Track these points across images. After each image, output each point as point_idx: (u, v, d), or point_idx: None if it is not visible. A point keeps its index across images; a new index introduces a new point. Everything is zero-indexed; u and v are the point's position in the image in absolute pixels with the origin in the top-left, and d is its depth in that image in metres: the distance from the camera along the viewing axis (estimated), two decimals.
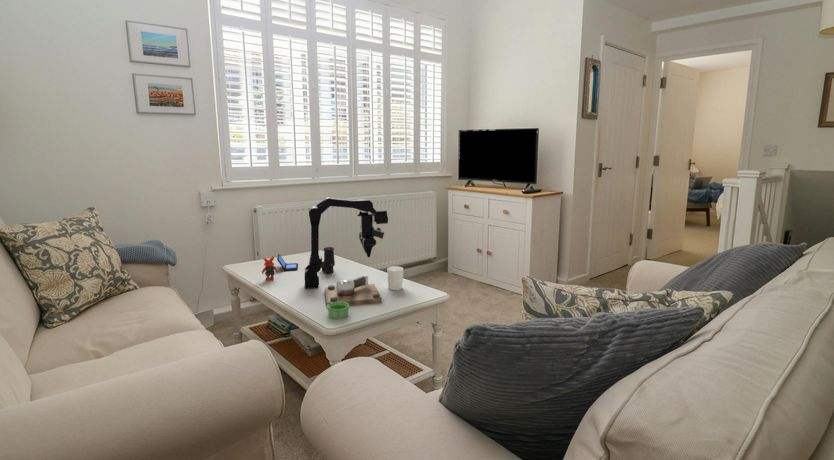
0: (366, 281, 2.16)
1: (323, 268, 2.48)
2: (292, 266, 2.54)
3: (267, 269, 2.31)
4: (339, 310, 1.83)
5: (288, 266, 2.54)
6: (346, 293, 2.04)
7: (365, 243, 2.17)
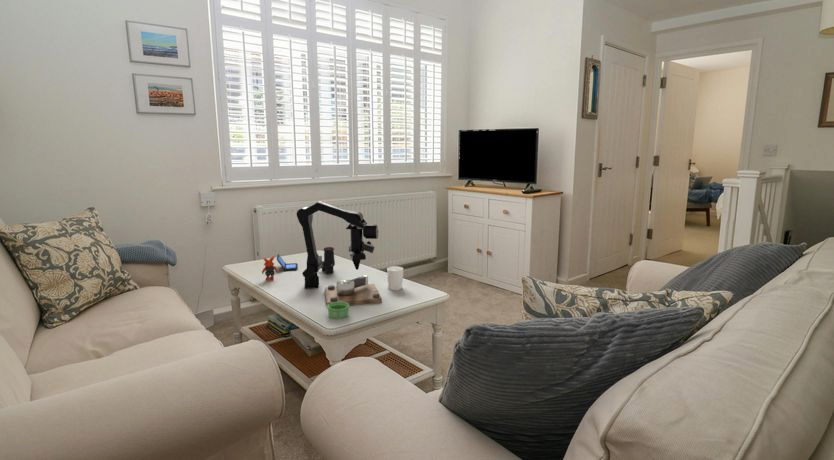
0: (366, 281, 2.16)
1: (323, 268, 2.48)
2: (292, 266, 2.54)
3: (267, 269, 2.31)
4: (339, 310, 1.83)
5: (288, 266, 2.54)
6: (346, 293, 2.04)
7: (354, 258, 2.09)
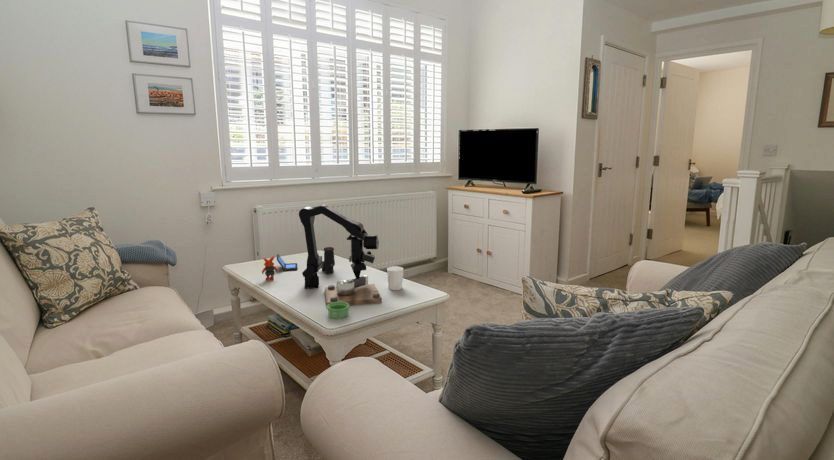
0: (366, 281, 2.16)
1: (323, 268, 2.48)
2: (291, 266, 2.54)
3: (267, 269, 2.31)
4: (339, 310, 1.83)
5: (287, 266, 2.54)
6: (346, 293, 2.04)
7: (355, 269, 2.09)
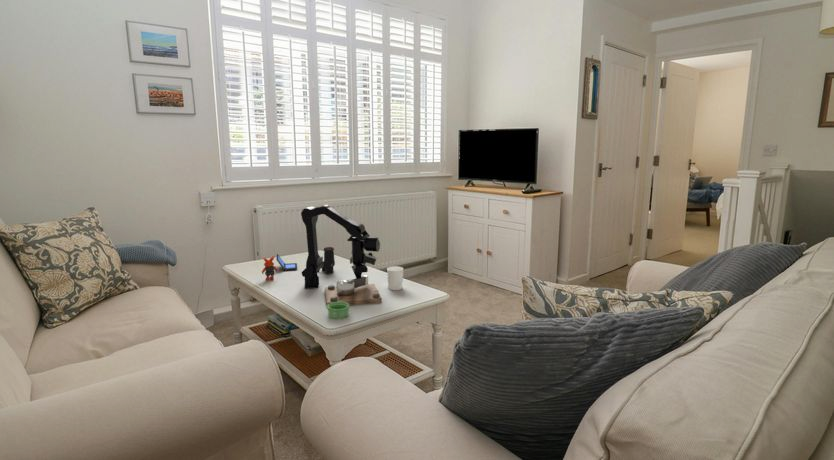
0: (366, 281, 2.16)
1: (323, 268, 2.48)
2: (291, 266, 2.54)
3: (267, 269, 2.31)
4: (339, 310, 1.83)
5: (287, 266, 2.54)
6: (346, 293, 2.04)
7: (356, 271, 2.06)
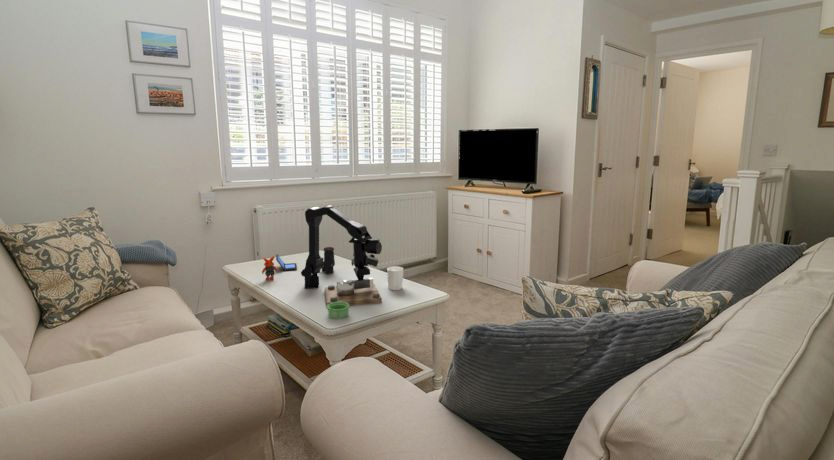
0: (371, 284, 2.12)
1: (323, 268, 2.48)
2: (291, 266, 2.54)
3: (267, 269, 2.31)
4: (339, 310, 1.83)
5: (287, 266, 2.54)
6: (343, 293, 2.04)
7: (358, 274, 2.02)
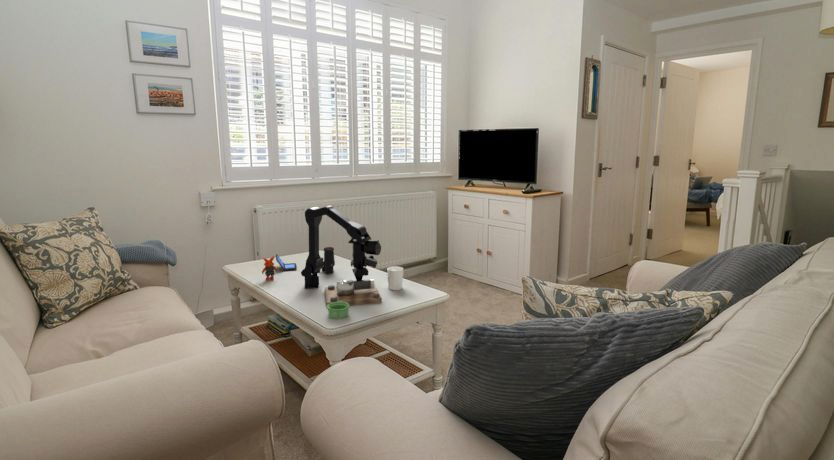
0: (372, 285, 2.10)
1: (323, 268, 2.48)
2: (291, 266, 2.54)
3: (267, 269, 2.31)
4: (339, 310, 1.83)
5: (287, 266, 2.54)
6: (341, 293, 2.04)
7: (356, 274, 2.02)
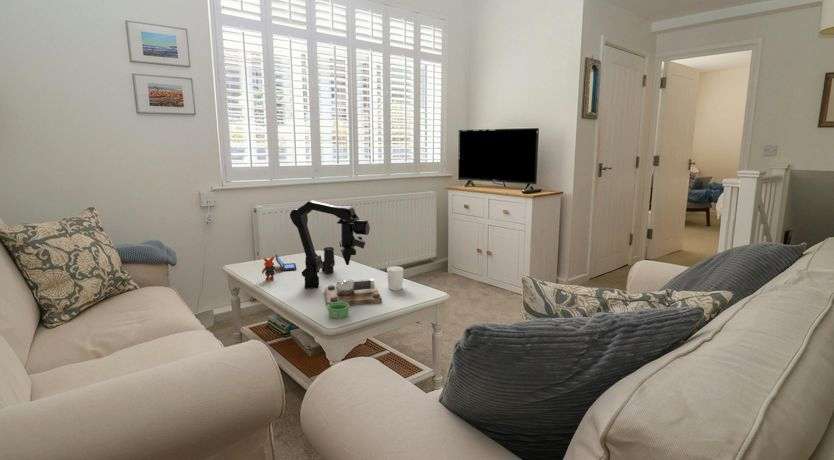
0: (372, 285, 2.10)
1: (323, 268, 2.48)
2: (290, 266, 2.54)
3: (267, 269, 2.31)
4: (339, 310, 1.83)
5: (286, 266, 2.54)
6: (341, 293, 2.04)
7: (344, 253, 2.06)
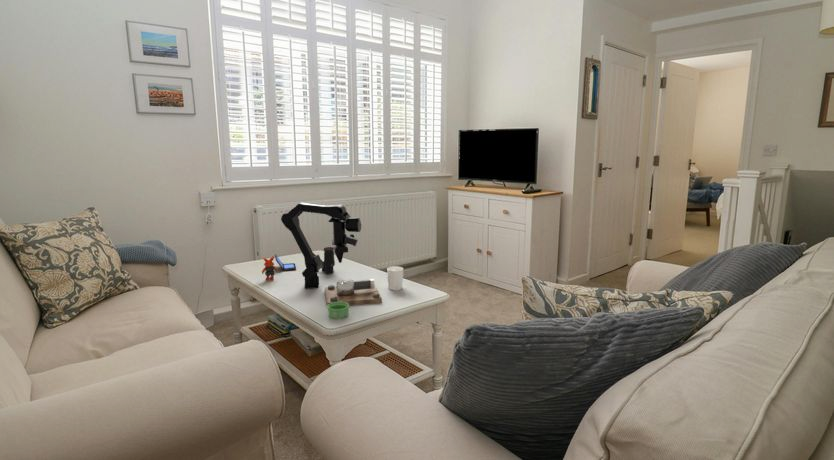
0: (372, 285, 2.10)
1: (323, 268, 2.48)
2: (290, 266, 2.54)
3: (267, 269, 2.31)
4: (339, 310, 1.83)
5: (286, 266, 2.54)
6: (341, 293, 2.04)
7: (336, 251, 2.08)
